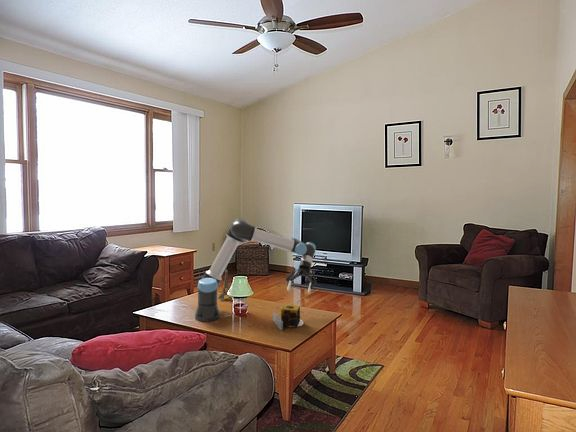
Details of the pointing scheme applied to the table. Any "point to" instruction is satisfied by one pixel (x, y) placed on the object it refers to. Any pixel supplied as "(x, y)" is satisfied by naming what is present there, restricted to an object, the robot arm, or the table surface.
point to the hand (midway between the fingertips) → (298, 291)
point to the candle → (290, 315)
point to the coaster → (299, 324)
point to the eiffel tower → (224, 287)
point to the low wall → (278, 321)
